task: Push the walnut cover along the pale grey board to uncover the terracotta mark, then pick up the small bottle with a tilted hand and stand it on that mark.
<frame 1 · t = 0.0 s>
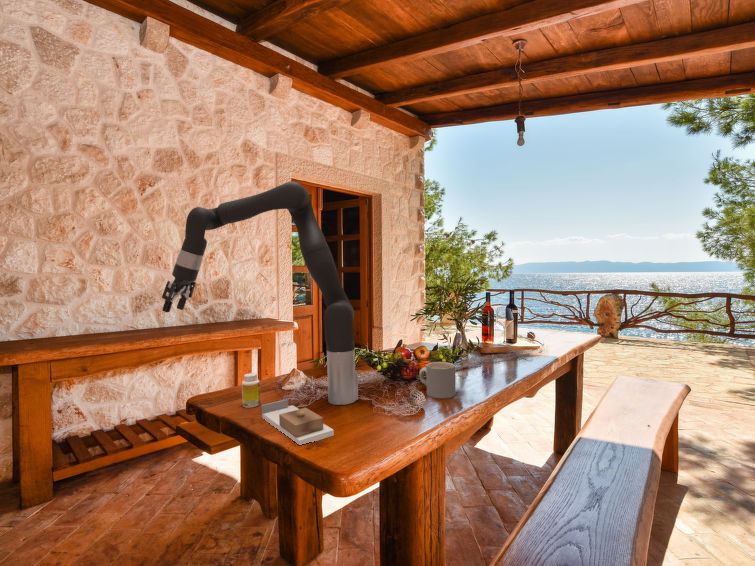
hand: (173, 310, 133), 31 cm above the table, tool tilted 20°, fingers open, 8 cm apart
supplement bottle: (251, 406, 129), on the table
coffee mug: (437, 393, 138), on the table
board: (295, 426, 111), on the table
cover: (300, 419, 106), point 4 cm above the table, slide at 0.0 cm
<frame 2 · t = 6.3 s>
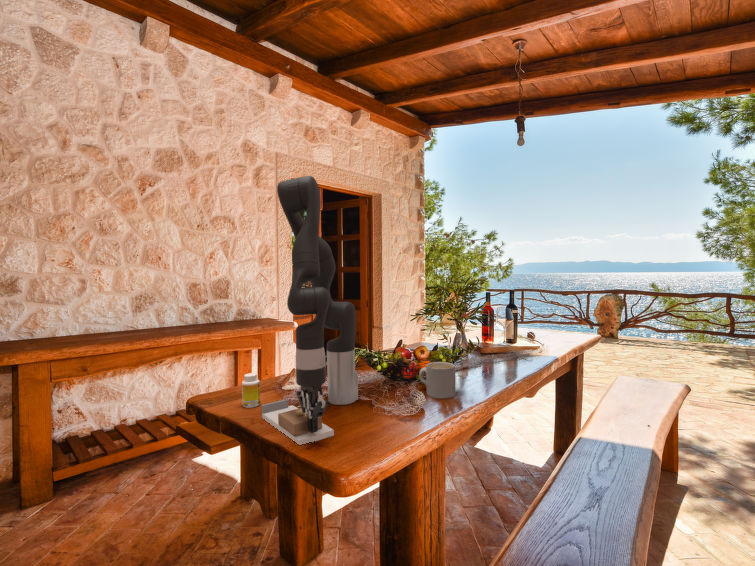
hand: (312, 431, 101), 2 cm above the table, tool pointing down, fingers closed
cover: (299, 418, 107), point 4 cm above the table, slide at 0.7 cm, touching gripper
everything else where it was.
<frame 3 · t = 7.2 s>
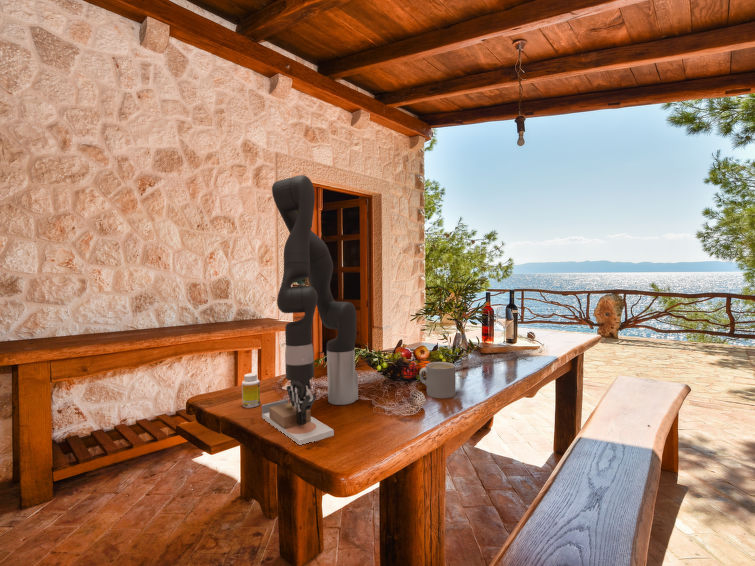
hand: (301, 423, 106), 2 cm above the table, tool pointing down, fingers closed
cover: (289, 412, 112), point 4 cm above the table, slide at 7.1 cm, touching gripper
everything else where it was.
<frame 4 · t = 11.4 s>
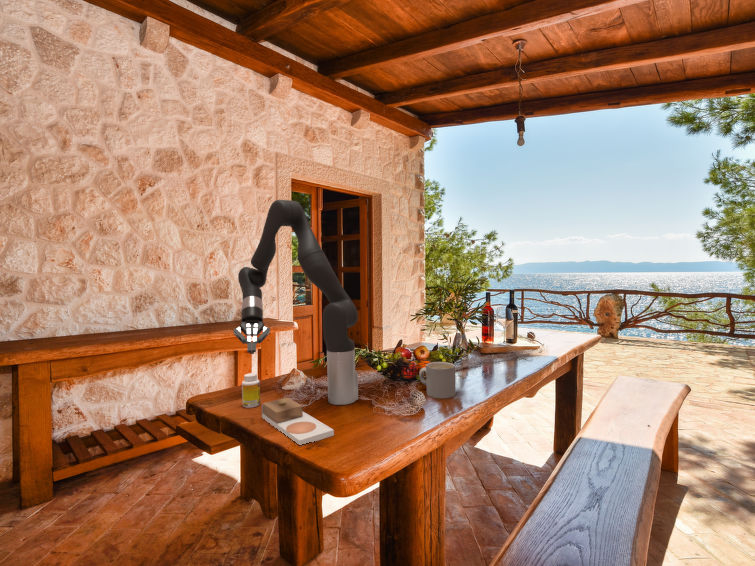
hand: (251, 352, 134), 16 cm above the table, tool tilted 40°, fingers closed
cover: (282, 407, 116), point 4 cm above the table, slide at 12.0 cm, touching board
everything else where it was.
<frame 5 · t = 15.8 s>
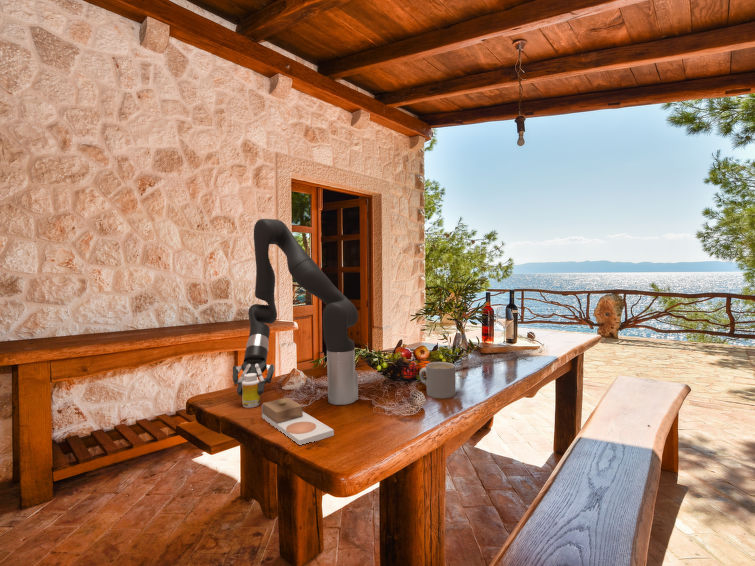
hand: (249, 394, 127), 4 cm above the table, tool tilted 45°, fingers closed on supplement bottle, 5 cm apart
supplement bottle: (251, 405, 129), on the table, touching gripper
everything else where it was.
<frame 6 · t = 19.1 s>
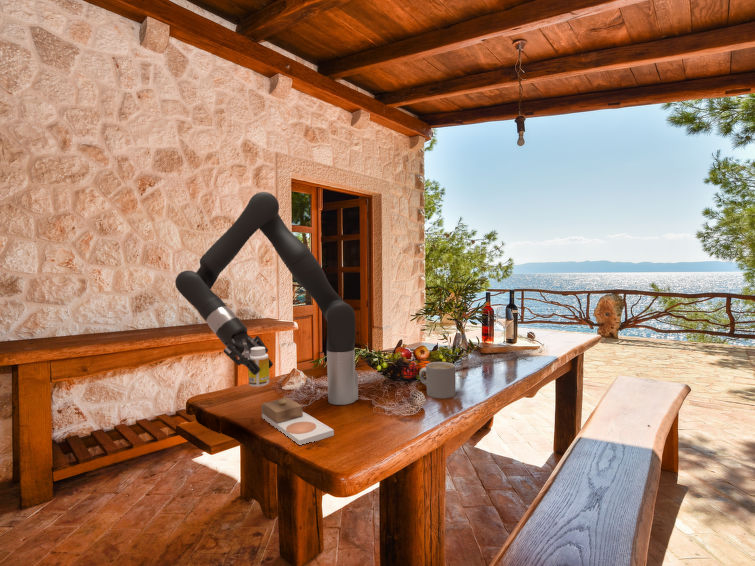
hand: (264, 369, 109), 17 cm above the table, tool tilted 45°, fingers closed on supplement bottle, 5 cm apart
supplement bottle: (259, 385, 110), point 12 cm above the table, touching gripper
everything else where it was.
when the fingers open (8 cm above the table, at t = 22.4 s): supplement bottle drops 2 cm, resting on board.
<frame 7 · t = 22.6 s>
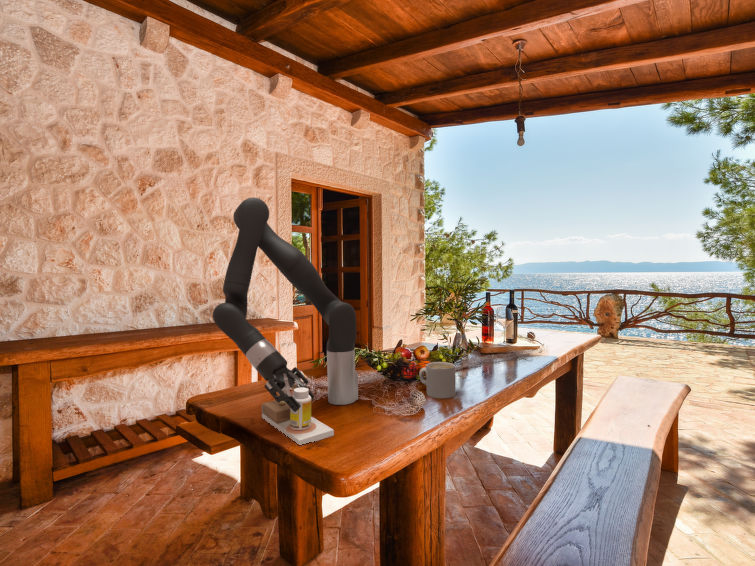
hand: (305, 404, 106), 8 cm above the table, tool tilted 45°, fingers open, 7 cm apart
supplement bottle: (300, 427, 106), point 2 cm above the table, touching board
everything else where it was.
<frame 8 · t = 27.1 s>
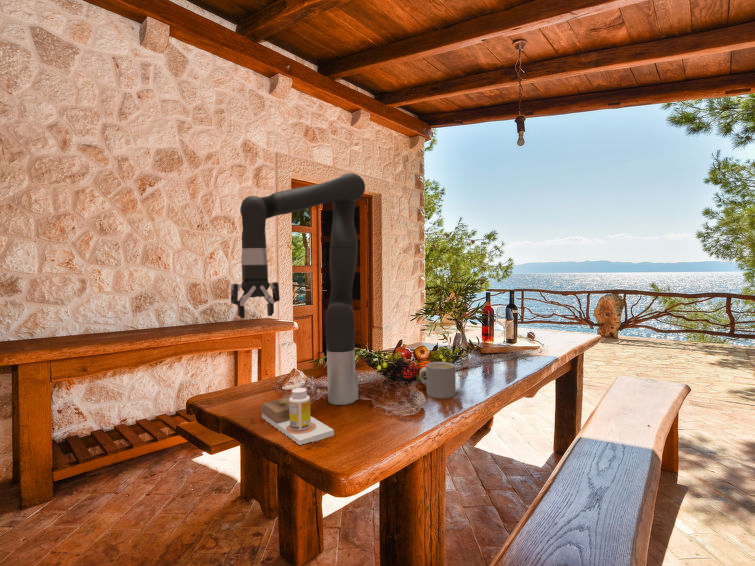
hand: (256, 317, 120), 30 cm above the table, tool pointing down, fingers open, 8 cm apart
nothing on the table moved.
at the end: cover slide at 12.0 cm; supplement bottle inside the target area (0.2 cm from its centre), point 1.4 cm above the table; supplement bottle tilted 0° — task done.
